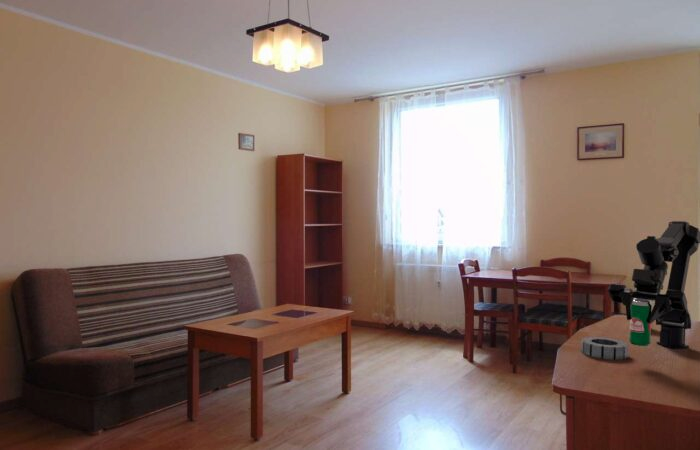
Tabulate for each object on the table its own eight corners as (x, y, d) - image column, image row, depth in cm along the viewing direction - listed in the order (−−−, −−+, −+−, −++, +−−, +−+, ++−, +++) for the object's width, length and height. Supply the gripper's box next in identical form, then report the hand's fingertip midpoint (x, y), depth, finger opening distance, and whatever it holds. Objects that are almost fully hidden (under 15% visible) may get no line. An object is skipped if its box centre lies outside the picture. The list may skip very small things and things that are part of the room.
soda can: (625, 342, 144) (626, 299, 143) (637, 341, 146) (638, 298, 145) (642, 347, 139) (643, 302, 139) (654, 345, 141) (655, 301, 141)
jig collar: (606, 347, 160) (606, 336, 160) (636, 358, 149) (637, 346, 149) (572, 349, 157) (573, 338, 157) (601, 360, 146) (601, 348, 146)
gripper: (611, 255, 151) (595, 298, 144) (685, 260, 137) (671, 307, 130) (620, 280, 157) (605, 322, 150) (692, 287, 143) (680, 333, 136)
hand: (638, 321), depth 141 cm, fingers closed on soda can, 5 cm apart
